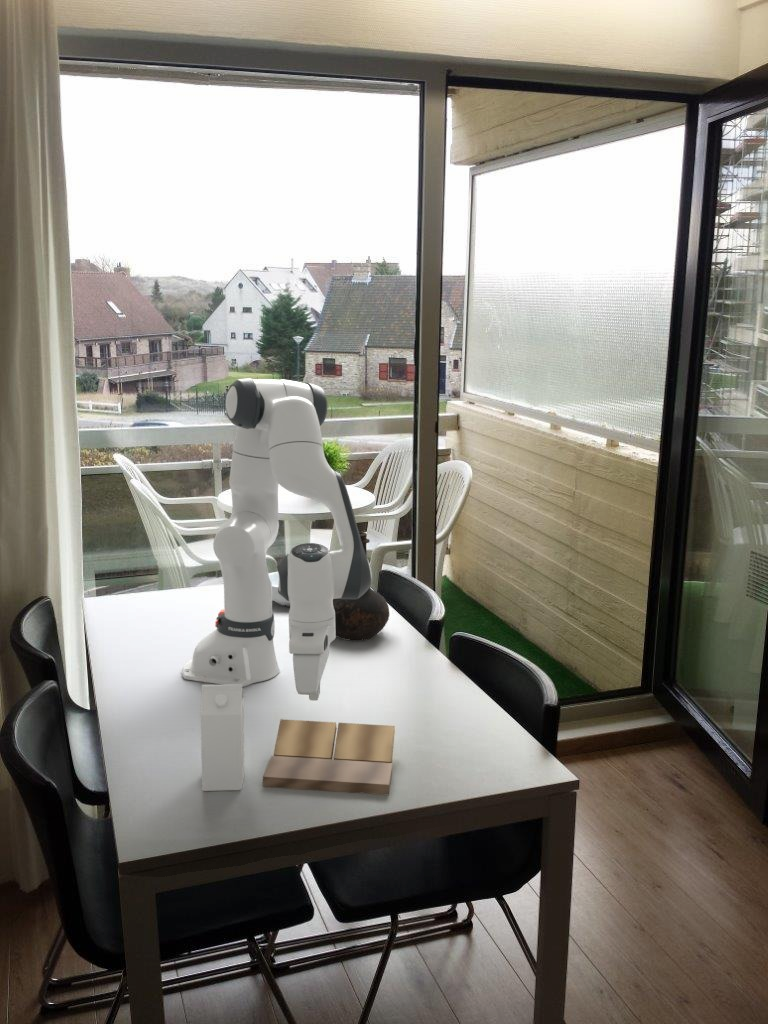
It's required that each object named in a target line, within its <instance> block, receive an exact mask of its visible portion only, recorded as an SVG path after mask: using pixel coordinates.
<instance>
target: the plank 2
mask: <svg viewBox="0 0 768 1024" xmlns="http://www.w3.org/2000/svg"><path fill="white" fill-rule="evenodd" d="M395 729H396V728H395V725H383V724H368V723H367V724H366V723H353V722H352V723H351V722H350V723H349V722H338V724H337V729H336V736H335V743H334V750H333V757H332V759H333V760H349V761H365V762H381V763H392V764H393V757H394V755H393V754H394V744H395V734H396V733H395Z"/></svg>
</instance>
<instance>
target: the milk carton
mask: <svg viewBox="0 0 768 1024" xmlns="http://www.w3.org/2000/svg"><path fill="white" fill-rule="evenodd" d="M244 698H245V697H244V692H243V687H242V684H238V685H222V684H201V699H200V712H199V714H200V716H199V717H200V751H201V754H200V755H201V757H200V758H201V790H202V791H203V792H205V791H206V792H207V791H208V792H209V791H210V792H212V791H214V792H215V791H219V792H220V791H242V790H243V785H244V783H243V782H244V777H245V776H244V775H245V710H244V709H245V706H244V704H245V703H244V702H245V701H244Z"/></svg>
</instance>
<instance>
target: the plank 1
mask: <svg viewBox="0 0 768 1024" xmlns="http://www.w3.org/2000/svg"><path fill="white" fill-rule="evenodd" d="M337 730H338V726H337V722H336V721H335V722H333V721H318V720H317V721H315V720H302V719H284V718H281V719H280V720H279V725H278V731H277V736H276V740H275V745H274V751H273V756H285V757H301V758H317V759H333V758H334V751H335V744H336V737H337Z"/></svg>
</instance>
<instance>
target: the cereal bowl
mask: <svg viewBox="0 0 768 1024" xmlns="http://www.w3.org/2000/svg"><path fill="white" fill-rule="evenodd" d="M268 574H269V578H270V579H271V582H272V602H275V603H276V604H278V605H280V606H285V605H286V606H287V607H290V601H287V600H286V599H285V598H284V597H282V596H281V595H280V594H279V593H278V587H279V573H278V571H275V572H274V571H273V572H268Z"/></svg>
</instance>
